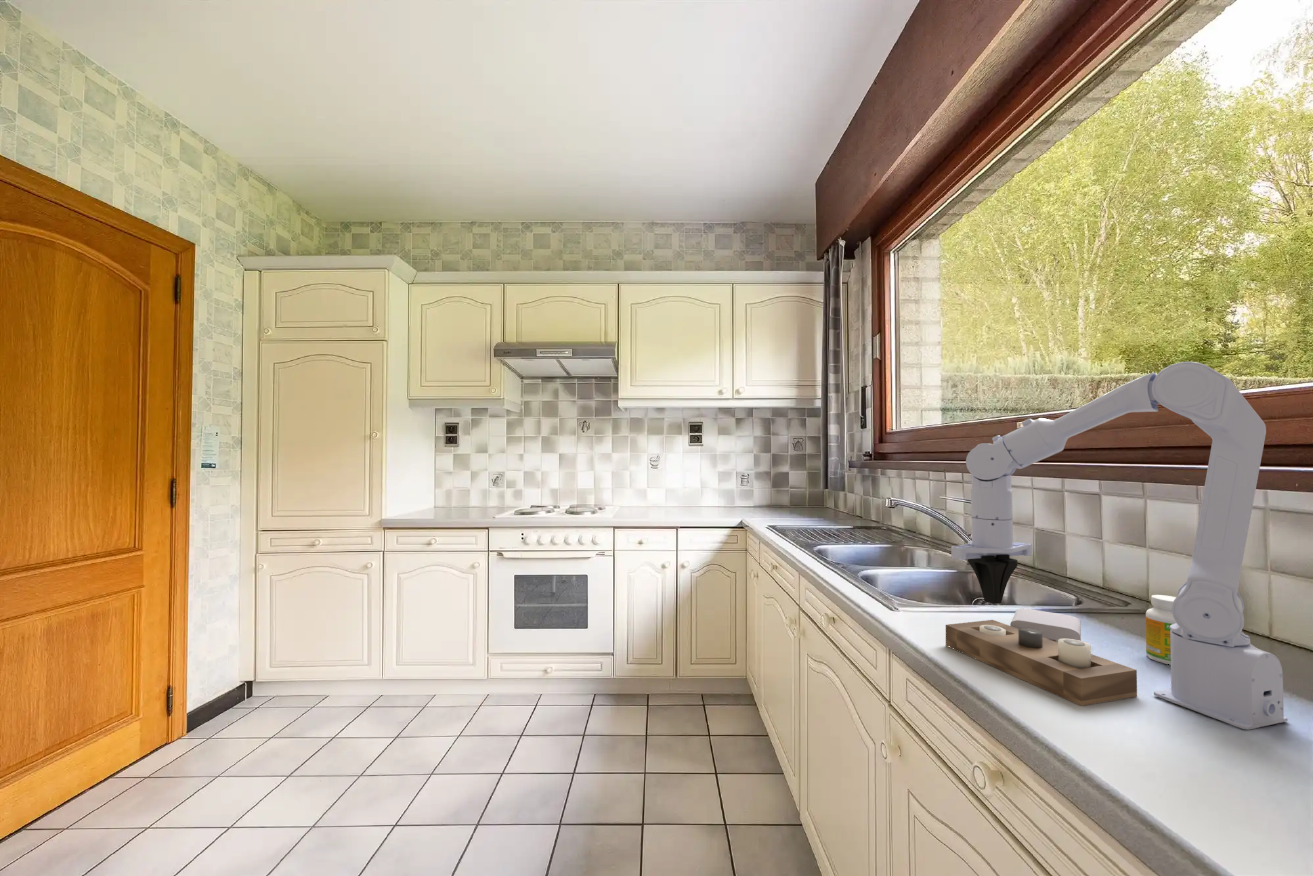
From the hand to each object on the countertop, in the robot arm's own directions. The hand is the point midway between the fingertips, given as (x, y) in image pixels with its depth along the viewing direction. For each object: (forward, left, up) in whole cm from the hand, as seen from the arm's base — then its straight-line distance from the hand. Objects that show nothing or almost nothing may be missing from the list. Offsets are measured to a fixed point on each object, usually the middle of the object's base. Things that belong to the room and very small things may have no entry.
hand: (992, 602), depth 88 cm
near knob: (-13, 0, -5) cm, 14 cm away
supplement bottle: (-10, -24, -8) cm, 27 cm away
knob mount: (-6, 0, -8) cm, 10 cm away
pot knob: (-6, 0, -5) cm, 8 cm away
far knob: (0, 0, -7) cm, 7 cm away
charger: (+2, -14, -9) cm, 17 cm away
